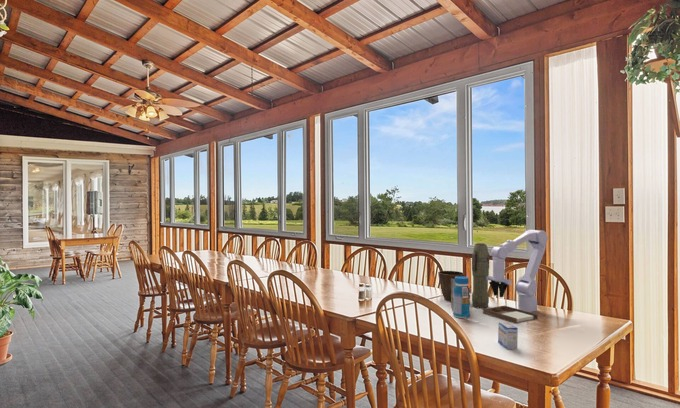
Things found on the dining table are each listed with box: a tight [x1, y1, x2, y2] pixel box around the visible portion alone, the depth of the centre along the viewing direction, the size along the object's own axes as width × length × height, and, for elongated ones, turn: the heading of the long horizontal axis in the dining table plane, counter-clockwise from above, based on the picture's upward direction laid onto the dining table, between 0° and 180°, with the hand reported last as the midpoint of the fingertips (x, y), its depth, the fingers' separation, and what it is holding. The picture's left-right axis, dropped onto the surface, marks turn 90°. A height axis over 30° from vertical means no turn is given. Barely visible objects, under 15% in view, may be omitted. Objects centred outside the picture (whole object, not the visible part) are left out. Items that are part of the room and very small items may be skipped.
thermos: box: [471, 242, 490, 310], centre depth 233 cm, size 9×12×35 cm
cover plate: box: [503, 311, 533, 323], centre depth 207 cm, size 12×10×2 cm
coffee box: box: [450, 279, 456, 312], centre depth 226 cm, size 9×6×16 cm
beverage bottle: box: [452, 275, 471, 319], centre depth 213 cm, size 8×8×20 cm
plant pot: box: [438, 270, 465, 302], centre depth 249 cm, size 15×15×16 cm
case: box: [482, 305, 539, 324], centre depth 211 cm, size 16×20×3 cm
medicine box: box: [497, 321, 519, 350], centre depth 170 cm, size 8×4×9 cm, turn 5°
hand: (498, 296), depth 217 cm, fingers open, 3 cm apart
